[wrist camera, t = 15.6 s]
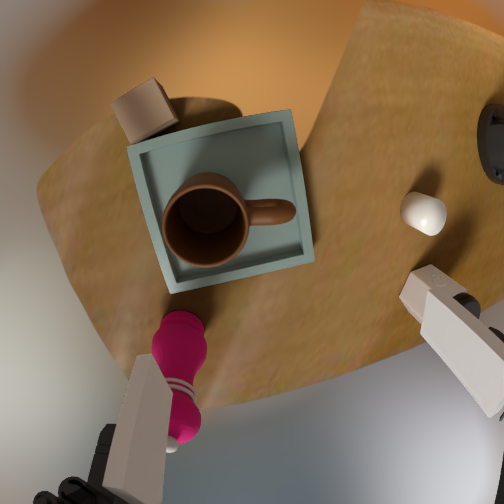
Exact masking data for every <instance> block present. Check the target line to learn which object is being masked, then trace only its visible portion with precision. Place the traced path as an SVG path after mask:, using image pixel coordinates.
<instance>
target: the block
mask: <svg viewBox="0 0 504 504" xmlns="http://www.w3.org/2000/svg"><path fill="white" fill-rule="evenodd" d="M111 105H112V107H113V109H114V112H115V114H116V116H117V118H118V120H119V122H120V124H121V126H122V128H123V130H124V132H125V134H126V136H127V138H128V140H129V142H130V143H140V142H143V141H146V140H149V139H151V138H152V137H154V136H156V135H158V134H159V133H161V132H163V131H165V130H166V129H168V128H170V127H172V126H174V125H176V124H177V123H179V122H180V120H179V118H178V116H177V114H176V112H175V110H174V108H173V106H172V104H171V102H170V100H169V98H168V96H167V95H166V93H165V91H164V89H163V87H162V86H161V85H160V84H159V83H158V82H157V80H156V79H155V78H151V79H149V80H148V81H146V82H144V83H142V84H141V85H139V86H137V87H136V88H134V89H132V90H131V91H129V92H127V93H126V94H124V95H123V96H121V97H119V98H118V99H116V100H115V101H113V102H112V103H111Z"/></svg>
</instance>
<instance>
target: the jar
mask: <svg viewBox="0 0 504 504" xmlns="http://www.w3.org/2000/svg"><path fill="white" fill-rule="evenodd" d="M438 286H439V287H440V288H441V289H443V290H444V291H445V292H446V293H448V294H449V295H450V296H451V297H452V298H454V299H455V300H456V301H457V302H458V303H460V304H461V305H462V306H463V307H464V308H466V309H467V310H468V311H469V312H470V313H471V314H473V315H474V316H475V317H476V318H477V319H479V316H480V311H481V308H480V304H479V302H478V301H477V300H476V299H475V298H474V297H473V296H471V295H469V294H468V293H467V290H466V288H464V287H463V286H461V285H460V284H459V283H457V282H456V281H455V280H453V279H452V278H450V277H449V276H448V275H446V274H445V273H443V272H442V271H440V270H439V269H437V268H436V267H435V266H433V265H432V264H430V265H427V266H425V267H422V268H419V269H417V270H414V271H412V272H410V274H409V276H408V279H407V281H406V283H405V285H404V287H403V289H402V291H401V293H400V295H399V298H400V299H401V301H402V302H403V304H404V305H405V307H406V308H407V310H408V311H409V312H410V313H411V314H412V315H413V316H414V317H415V318H416V319H417V320H418V321H419V323H420V324H421V325H422V321H423V316H424V310H425V304H426V297H427V290H429V289H432V288H435V287H438Z"/></svg>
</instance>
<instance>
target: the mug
mask: <svg viewBox="0 0 504 504" xmlns="http://www.w3.org/2000/svg"><path fill="white" fill-rule="evenodd" d="M295 215H296V207H295V206H294V204H293V203H292V202H290V201H288V200H284V199H258V200H246V199H243V198H242V196H241V194H240V192H239V190H238V188H237V187H236V185H235V184H234V183H233V182H232V181H231V180H230V179H228V178H227V177H225V176H223V175H220V174H217V173H212V172H206V173H200V174H197V175H194V176H192V177H190V178H189V179H187V180H186V181H185V182H184V183H183V184H182V185H181V186H180V187H179V188H178V189H177V190H176V191H175V192H174V194H173V195H172V196H171V198H170V199H169V201H168V203H167V205H166V208H165V210H164V213H163V217H162V234H163V237H164V240H165V242H166V244H167V246H168V248H169V249H170V251H171V252H172V253H173V254H174V255H175V256H176V257H177V258H178V259H180V260H181V261H183V262H185V263H187V264H189V265H192V266H195V267H202V268H209V267H216V266H219V265H222V264H225V263H227V262H228V261H230V260H232V259H233V258H234V257H235V256H236V255H237V254H238V253H239V252H240V251H241V250H242V248H243V247H244V245H245V243H246V240H247V238H248V234H249V227H250V226H260V225H278V224H283V223H287V222H289V221H291V220H292V219H293V218H294V216H295Z"/></svg>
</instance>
